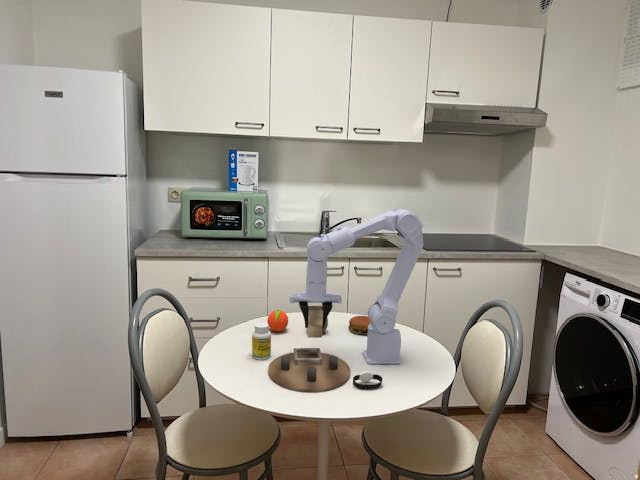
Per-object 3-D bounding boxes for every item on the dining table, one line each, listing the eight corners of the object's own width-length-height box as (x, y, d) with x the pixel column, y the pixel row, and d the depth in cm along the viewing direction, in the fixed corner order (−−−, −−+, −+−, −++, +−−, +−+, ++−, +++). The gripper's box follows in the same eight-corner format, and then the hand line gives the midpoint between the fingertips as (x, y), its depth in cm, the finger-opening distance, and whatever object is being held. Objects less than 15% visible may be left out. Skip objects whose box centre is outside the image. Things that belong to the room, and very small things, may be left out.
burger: (343, 327, 160) (344, 314, 159) (367, 324, 163) (368, 312, 162) (356, 338, 151) (357, 324, 150) (381, 335, 154) (382, 322, 153)
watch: (379, 381, 123) (380, 368, 122) (384, 390, 118) (385, 376, 117) (350, 382, 121) (351, 369, 121) (354, 391, 117) (355, 378, 116)
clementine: (287, 336, 149) (287, 315, 148) (265, 335, 149) (265, 314, 148) (288, 327, 157) (289, 307, 156) (268, 326, 157) (268, 306, 156)
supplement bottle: (265, 351, 138) (266, 320, 136) (273, 358, 134) (274, 326, 132) (248, 354, 135) (249, 323, 133) (256, 361, 131) (257, 329, 129)
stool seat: (343, 354, 138) (343, 341, 137) (356, 391, 116) (357, 376, 116) (268, 354, 135) (268, 341, 135) (268, 393, 114) (268, 378, 113)
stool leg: (320, 332, 135) (321, 305, 134) (321, 337, 132) (323, 310, 130) (306, 332, 135) (307, 305, 134) (307, 337, 131) (308, 310, 130)
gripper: (340, 277, 135) (337, 321, 137) (290, 276, 133) (288, 321, 136) (343, 284, 128) (341, 331, 131) (290, 283, 127) (289, 330, 129)
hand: (314, 326), depth 133 cm, fingers closed on stool leg, 4 cm apart
